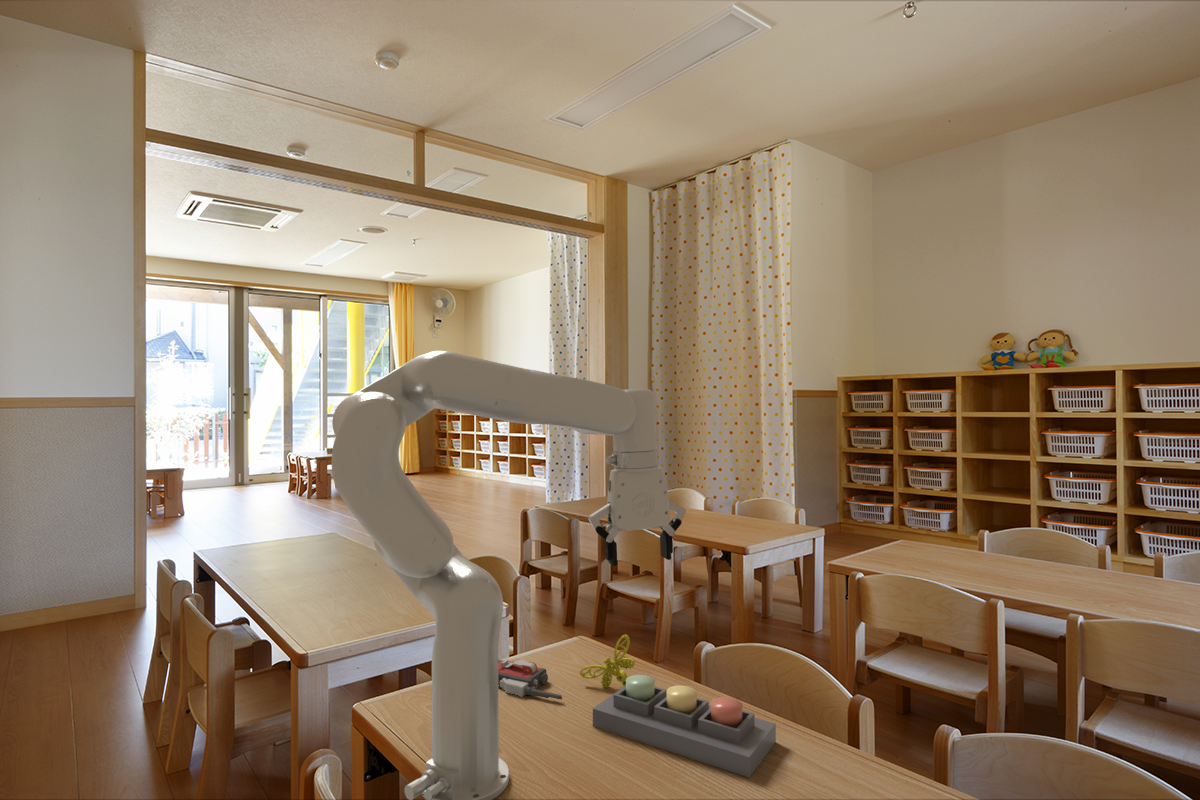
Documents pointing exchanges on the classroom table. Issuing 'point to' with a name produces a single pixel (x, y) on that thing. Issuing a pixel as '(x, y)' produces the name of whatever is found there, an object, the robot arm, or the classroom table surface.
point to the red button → (726, 711)
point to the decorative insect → (615, 665)
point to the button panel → (688, 731)
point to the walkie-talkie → (523, 678)
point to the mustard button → (682, 699)
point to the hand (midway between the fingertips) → (639, 561)
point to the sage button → (640, 687)
